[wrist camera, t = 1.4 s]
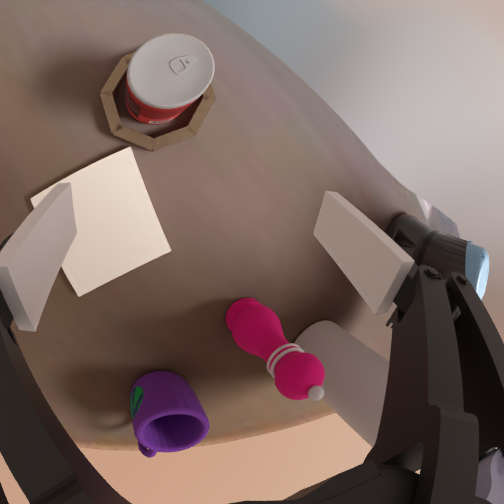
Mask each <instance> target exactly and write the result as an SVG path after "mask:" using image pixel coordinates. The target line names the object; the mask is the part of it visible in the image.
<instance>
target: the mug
mask: <svg viewBox="0 0 504 504" xmlns="http://www.w3.org/2000/svg"><path fill="white" fill-rule="evenodd" d="M130 407H131V416H132V423H133V428H134V433H135V437H136V438H137V440H138V446H139V449H140V451H141V452H142V454H143V455H145V456H146V457H153V456H155V455H156V453H157V451H158V452H176V451H181V450H185V449H188V448H190V447H193V446H194V445H196V444H198V443H199V442H200V441H201V440H202V439H203V438H205V436H206V434H207V433H208V430H209V421H208V418H207V416H206V414H205V412H204V410H203V408H202V406H201V404H200V402H199V400H198V398H197V396H196V394H195V393H194V391H193V390H192V388H191V387H190V385H189V384H188V383H187V381H186V380H185V379H184V378H182V377H181V376H180V375H178V374H175V373H173V372H168V371H156V372H151V373H148V374H145V375H143V376H142V377H140V378H139V379H138V380H137V381H136V382H135V383H134V385H133V387H132V390H131V394H130ZM147 448H148V449H149V450H148V449H147Z"/></svg>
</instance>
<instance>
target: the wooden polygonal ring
mask: <svg viewBox="0 0 504 504" xmlns="http://www.w3.org/2000/svg"><path fill="white" fill-rule="evenodd" d="M134 53H135V52H133V53H130V54H127V55H124V57H122V58H121V60H120V61H119V63H118V64H117V66H116V67H115V69H114V70H113V72H112V74H111V75H110V77H109V78H108V80H107V82H106V83H105V85H104V87H103V88H102V90H101V92H100V93H101V94H100V96H101V100H102V103H103V107H104V110H105V114H106V117H107V120H108V123H109V126H110V130H111V133H112V134H113V136H115V137H117V138H120V139H122V140H125V141H127V142H130V143H132V144H134V145H137V146H139V147H141V148H144V149H146V150H149V151H155V150H158V149H160V148H163V147H165V146H168V145H171V144H173V143H176V142H179V141H182V140H184V139H187V138H190V137H193V136H195V135H196V134H197V132H198V130H199V128H200V126H201V124H202V122H203V120H204V119H205V117H206V115H207V113H208V111H209V109H210V108H211V106H212V104H213V102H214V100H215V99H214V98H215V95H214V91H213V88H212V85H211V83H210V85H209V86H208V88H207V89H206V90H205V92H204V93H203V94H202V95H201V96H200V101H199V103H198V105H197V107H196V108H195V110H194V112H193V114H192V116H191V118H190V119H189V121H188V123H187V125H186V127H184V128H181V129H178V130H175V131H172V132H170V133H167V134H164V135H162V136H159V137H156V138H152V137H150V136H147V135H145V134H143V133H140V132H138V131H136V130H133V129H131V128H128V127H126V126H124V125H122V124H121V121H120V118H119V115H118V112H117V108H116V105H115V102H114V98H113V94H114V93H115V91H116V89H117V88H118V86H119V84H120V83H121V81H122V79H123V78H124V76H125V74H126V73H127V69H128V65H129V62H130V60H131V58H132V56H133V54H134Z"/></svg>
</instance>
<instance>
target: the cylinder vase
mask: <svg viewBox="0 0 504 504" xmlns="http://www.w3.org/2000/svg"><path fill="white" fill-rule="evenodd" d="M294 344H297V345H298V346H299V347H300V348H301V349H302V350H303V351H304V352H307V353H310V354H313V355H314V356H316V357H317V358H318V359H319V360H320V361H321V362H322V365H323V367H324V370H325V378H324V381H323V384H322V385H321V387H322V388H323V390H324V395H323V397H322V399H323V400H324V401H325V402H326V403H327V404H328V405H329V406H330V407H331V408H332V409H333V410H334V411H335V412H336V413H337V414H338V415H339V416H340V417H341V418H342V419H343V420H344V421H345V422H346V423H347V424H348V425H349V426H350V427H352V428H353V429H354V430H355V431H356V432H357V433H358V434H359V435H360V436H361V437H362V438H363V439H364V440H365V441H366V442H367V443H368V444H370V445H371V446H372V447H373V446H374V444H375V442H376V439H377V434H378V430H379V425H380V420H381V415H382V410H383V404H384V399H385V392H386V386H387V379H388V371H389V363H390V362H389V361H387V360H386V359H384V358H383V357H382V356H380V355H379V354H377V353H376V352H375V351H373V350H372V349H370V348H369V347H368V346H366V345H365V344H363V343H362V342H361V341H359V340H358V339H356V338H355V337H354V336H352V335H351V334H349V333H348V332H347V331H345V330H344V329H342V328H341V327H340V326H338V325H337V324H335V323H334V322H332V321H320V322H317V323H314V324H313V325H311V326H309V327H308V328H307V329H305V330H304V331H303V332H302V333H301V334H300V335H299V337H298V338H297V339H296V341H295V342H294Z"/></svg>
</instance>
